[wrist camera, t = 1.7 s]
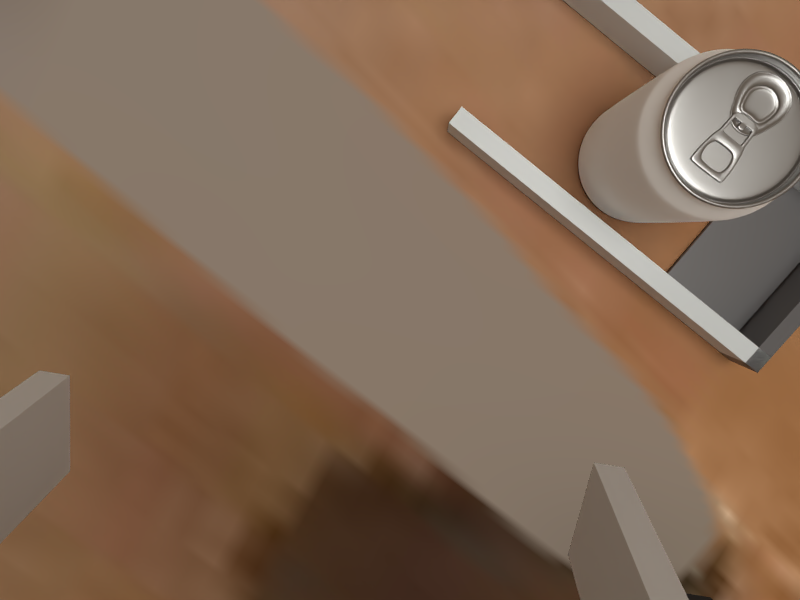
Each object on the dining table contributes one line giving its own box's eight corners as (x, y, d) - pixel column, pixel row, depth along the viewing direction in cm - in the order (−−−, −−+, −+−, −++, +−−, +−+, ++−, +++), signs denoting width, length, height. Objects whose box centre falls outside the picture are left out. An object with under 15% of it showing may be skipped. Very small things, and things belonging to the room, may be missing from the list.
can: (723, 150, 35) (873, 111, 23) (644, 247, 36) (750, 256, 24) (628, 75, 35) (730, -3, 23) (551, 174, 36) (611, 147, 24)
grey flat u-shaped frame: (857, 217, 35) (897, 216, 32) (730, 360, 36) (757, 372, 33) (567, -22, 35) (580, -46, 32) (447, 131, 36) (448, 122, 33)
